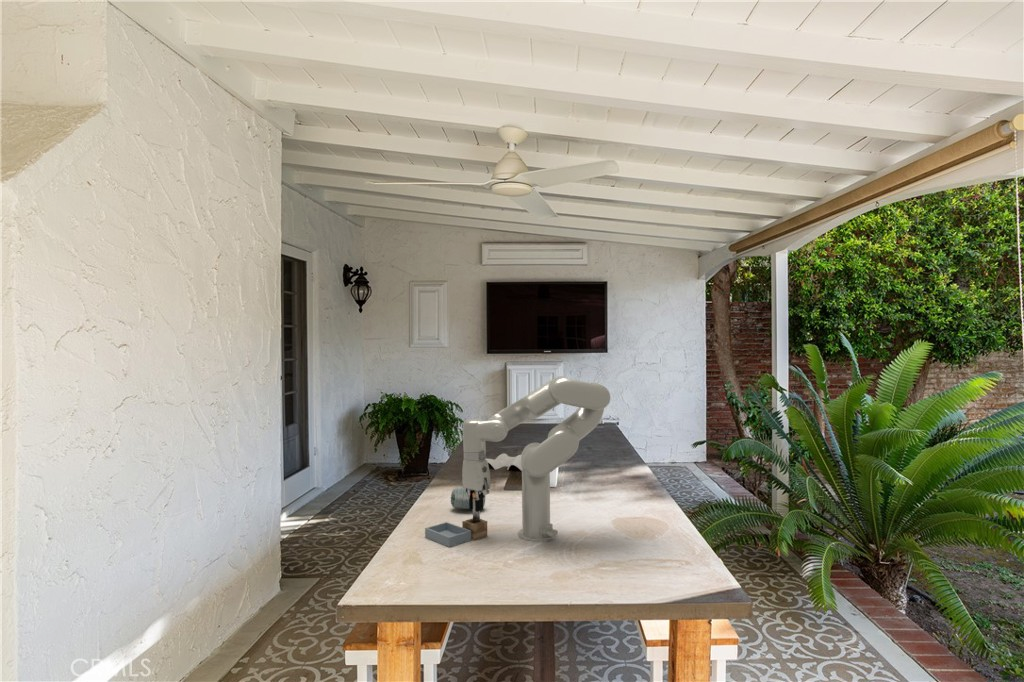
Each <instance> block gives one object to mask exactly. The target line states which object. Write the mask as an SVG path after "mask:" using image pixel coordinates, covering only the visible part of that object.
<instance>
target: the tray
mask: <svg viewBox="0 0 1024 682" xmlns="http://www.w3.org/2000/svg"><path fill="white" fill-rule="evenodd" d="M424 538H425V539H428V540H431V541H433V542H436V543H438V544H440V545H443V546H446V547H448V548H451V547H455V546H458V545H460V544H464V543H467V542H469V541H472V539H471V530H468V529H465V528H462V526H460V525H457V524H454V523H451V522H448V521H446V522H442V523H438V524H435V525H432V526H428V527H425V528H424Z"/></svg>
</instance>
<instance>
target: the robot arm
mask: <svg viewBox="0 0 1024 682" xmlns="http://www.w3.org/2000/svg"><path fill="white" fill-rule="evenodd" d="M610 393H611V392H610V391H609V389H608V388H607V387H606V386H604V385H602V384H601V383H598V382H586V381H580V380H575V379H572V378H568V377H566V376H563V375H561V376H556V377H554V378H552V379H550V380H549V381H548V382H546V383H544V384H543V385H541V386H540V387H538V388H537V389H535V390H533V391H532V392H530V393H528V394H527V395H525V396H523V397H521V398H520V399H518V400H516V401H515V402H514V403H511V404H509V405H507V406H506V407H504V408H503V409H501V410H500V411H497V412H496V413H495V414H493V415H491V416H490V417H489V418H488V419H487V420H483V419H480V418H470V419H465V420H463V422H462V441H463V442H462V443H463V444H462V445H463V446H462V447H463V448H462V449H463V460H462V461H463V462H462V469H461V474H462V475H461V478H462V479H461V482H462V487H463V489H464V490H465V491H466V492H467V494H468V498H469V509H468V510H469V511H473V499H472V492H476V500H475V511H476V512H479V511H480V512H481V511H484V507H483V499H484V498H485V499H486V497H485V496H487V495H489V494H490V489H491V473H490V466H489V463H488V461H487V460H486V458H487V454H486V453H487V449H486V445H487V444H486V442H494V443H496V442H501V441H503V440H504V439H505V438H506V437H507V435H508V432H509V431H511V430H512V429H514V428H516V427H517V426H519V425H520V424H523V423H524V422H527V421H532V420H536V419H538V418H540V417H541V416H544V415H545V414H546V413H548V412H550V411H551V410H553V409H554V408H556V407H557V406H559V405H561V404H563V405H567V406H572V407H576V408H577V410H575V411H574V412H573V413H572V414H570V415H569V416H568V417H566V418H565V419H564V420H563V421H561V422H559V424H557V425H556V426H554V427H553V428H552V429H550V431H549V432H548V434H547V438H546V439H545V440H543V441H542V442H541V443H540V442H531V443H528V444H527V445H526V446H525V447H524V448H523V450H522V452H521V454H522V456H521V465H522V471H521V482H522V483H521V495H522V496H521V497H522V498H521V500H522V501H521V503H522V504H521V505H522V507H521V508H522V511H521V512H522V513H521V515H522V521H521V522H522V523H521V525H522V527H521V529H519V531H518V532H517V536H518V538H520V539H521V540H525V541H528V542H543V543H545V542H548V541H549V542H550V541H551V540H553V539H555V538H556V536H557V535H558V534H559V531H558V530H557V529H553V528H554V527H553V524H552V523H551V473H552V472H553V471H554V470H556V469H557V468H559V467H560V466H561V465H563V464H564V463H565V462H567V461H568V460H569V459H571V458H572V457H573V456H574V455H575V454H576V453H577V451H578V449H579V446H580V445H579V444H580V441H581V440H582V439H584V438H585V437H586V436H588V434H589V433H591V432H592V431H593V430H595V428H596V427H597V426H598V425H599V424H600V422H601V420H602V417H603V415H604V412H605V411H604V410H605V409H606V407H608V406H609V404H610V402H611V394H610ZM479 492H481V493H480V494H479Z"/></svg>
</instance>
